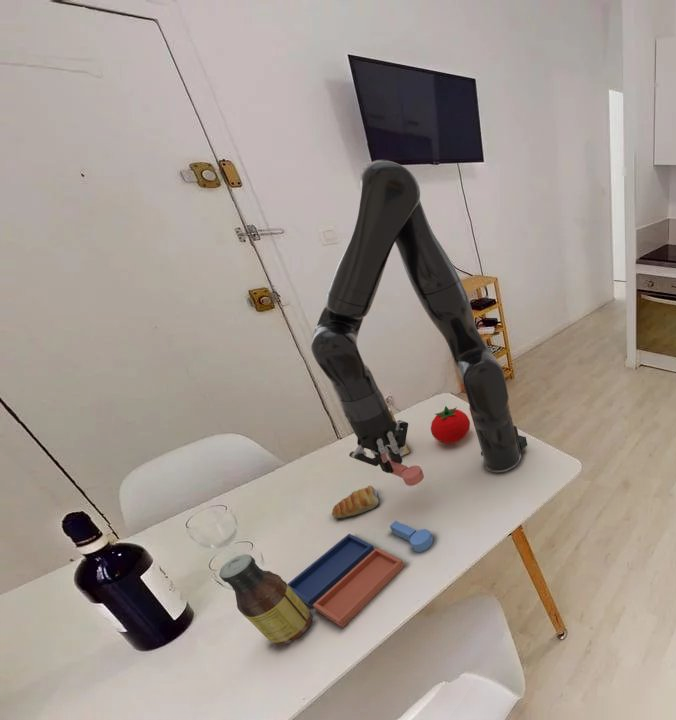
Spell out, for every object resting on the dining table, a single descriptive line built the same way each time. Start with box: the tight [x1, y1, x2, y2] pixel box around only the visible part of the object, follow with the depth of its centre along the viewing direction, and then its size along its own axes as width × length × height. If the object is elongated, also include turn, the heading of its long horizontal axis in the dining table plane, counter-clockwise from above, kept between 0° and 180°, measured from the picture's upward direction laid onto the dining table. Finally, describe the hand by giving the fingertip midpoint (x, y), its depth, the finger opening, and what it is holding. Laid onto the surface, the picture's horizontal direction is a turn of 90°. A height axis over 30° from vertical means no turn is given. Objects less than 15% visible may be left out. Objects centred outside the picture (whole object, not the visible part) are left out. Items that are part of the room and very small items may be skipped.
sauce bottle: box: [218, 553, 313, 646], centre depth 70 cm, size 6×6×20 cm
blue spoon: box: [389, 520, 434, 553], centre depth 90 cm, size 11×4×3 cm, turn 66°
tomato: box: [430, 405, 471, 444], centre depth 118 cm, size 10×10×10 cm
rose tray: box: [313, 547, 405, 629], centre depth 81 cm, size 13×8×2 cm, turn 156°
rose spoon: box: [387, 458, 425, 487], centre depth 95 cm, size 11×4×3 cm, turn 66°
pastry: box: [331, 485, 379, 519], centre depth 98 cm, size 9×7×4 cm
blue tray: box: [287, 533, 375, 609], centre depth 84 cm, size 13×8×2 cm, turn 156°
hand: (394, 468), depth 96 cm, fingers closed on rose spoon, 1 cm apart
